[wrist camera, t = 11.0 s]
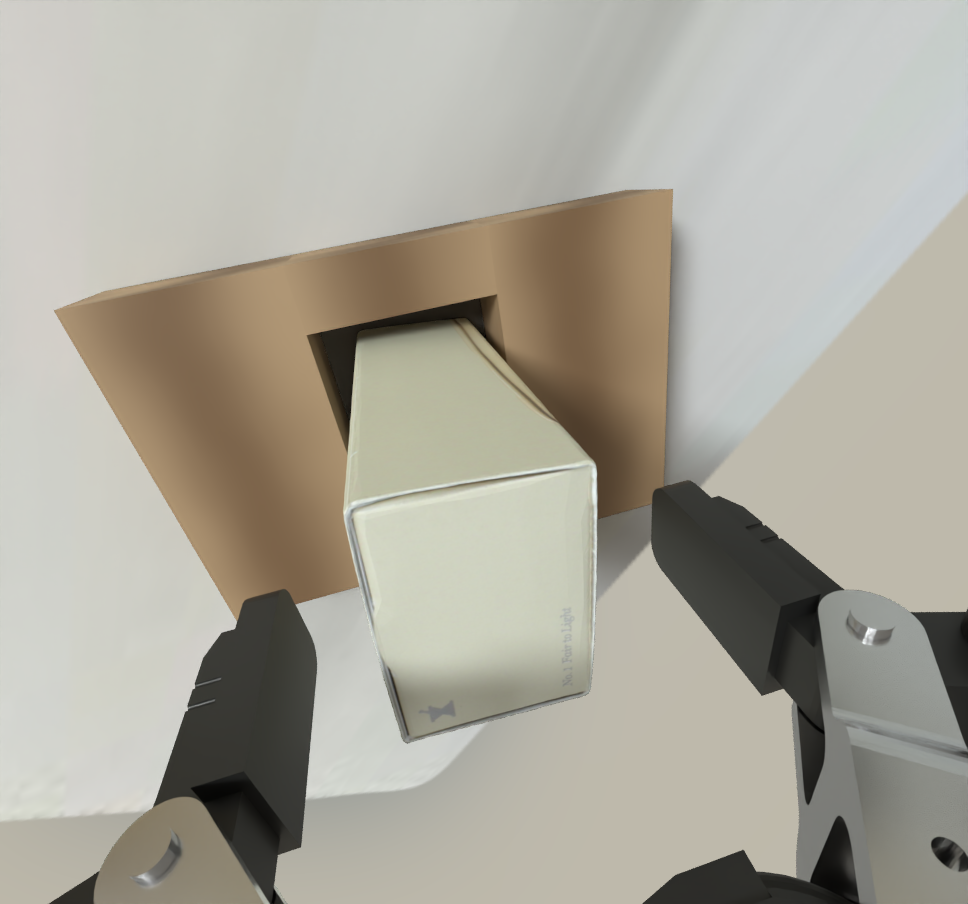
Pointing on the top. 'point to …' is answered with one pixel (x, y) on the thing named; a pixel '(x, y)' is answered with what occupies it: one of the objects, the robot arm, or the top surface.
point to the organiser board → (313, 389)
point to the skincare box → (467, 531)
